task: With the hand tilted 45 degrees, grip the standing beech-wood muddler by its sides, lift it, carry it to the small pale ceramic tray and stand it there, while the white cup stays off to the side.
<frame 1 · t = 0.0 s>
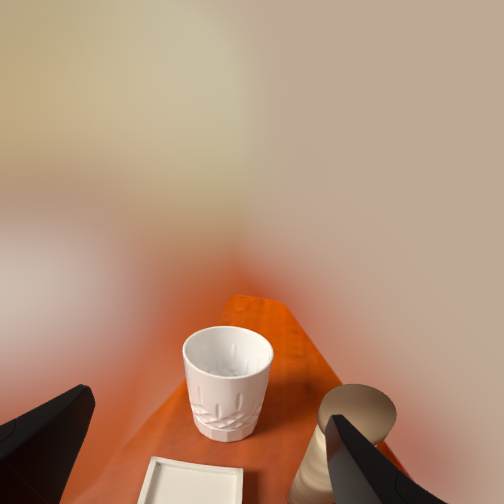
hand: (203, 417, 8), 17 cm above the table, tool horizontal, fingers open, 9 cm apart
white cup: (225, 420, 26), on the table
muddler: (310, 497, 16), on the table
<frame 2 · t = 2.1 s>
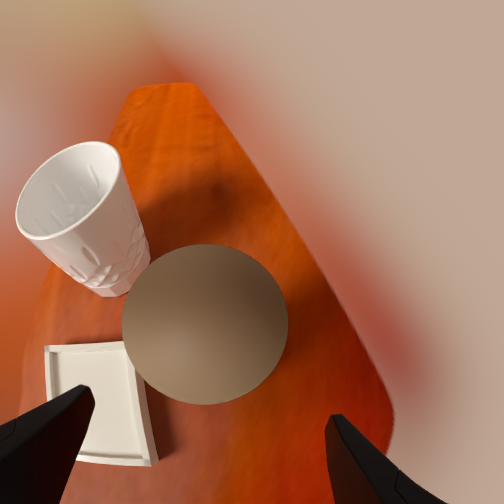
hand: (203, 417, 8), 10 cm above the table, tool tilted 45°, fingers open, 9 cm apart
white cup: (116, 262, 22), on the table
tray: (99, 404, 16), on the table
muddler: (224, 368, 19), on the table
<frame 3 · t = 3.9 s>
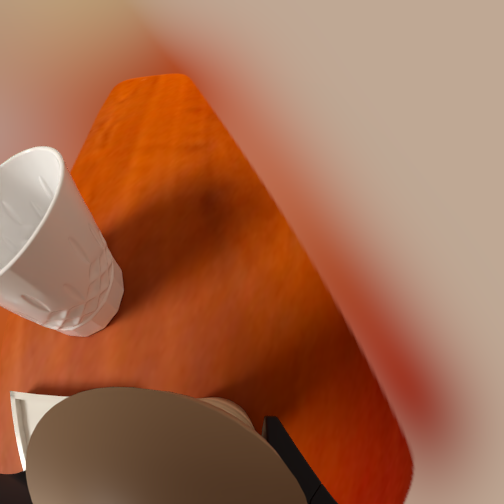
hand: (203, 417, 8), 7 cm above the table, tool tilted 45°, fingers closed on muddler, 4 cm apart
white cup: (85, 292, 17), on the table
tray: (74, 459, 11), on the table
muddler: (215, 430, 13), on the table, touching gripper
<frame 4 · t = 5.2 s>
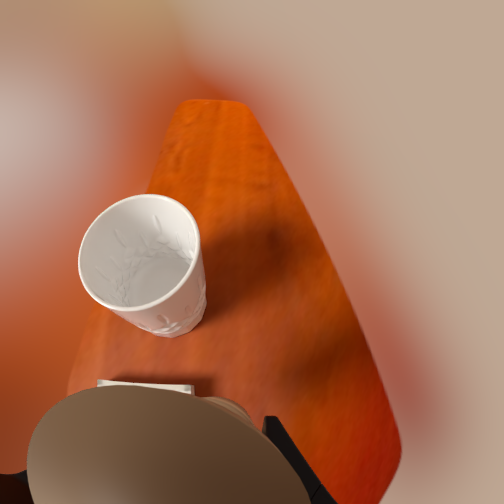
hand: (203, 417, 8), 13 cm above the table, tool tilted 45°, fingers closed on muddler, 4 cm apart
white cup: (170, 302, 24), on the table
tray: (150, 434, 18), on the table
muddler: (216, 430, 13), point 7 cm above the table, touching gripper
when the fingers open (9 cm above the table, at t = 6.9 s): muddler drops 1 cm, resting on tray.
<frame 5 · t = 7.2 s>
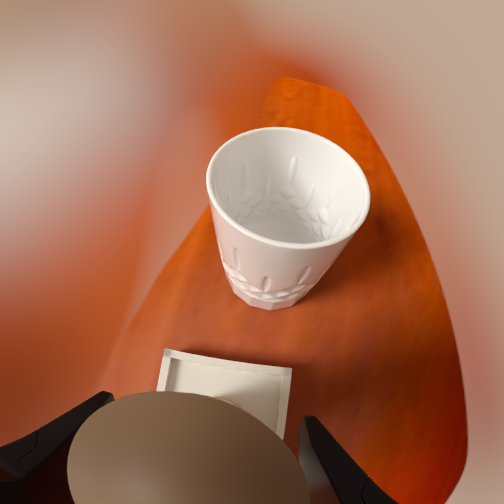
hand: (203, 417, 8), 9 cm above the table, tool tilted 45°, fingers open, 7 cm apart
white cup: (269, 269, 22), on the table
tray: (218, 426, 16), on the table
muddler: (216, 428, 14), point 1 cm above the table, touching tray
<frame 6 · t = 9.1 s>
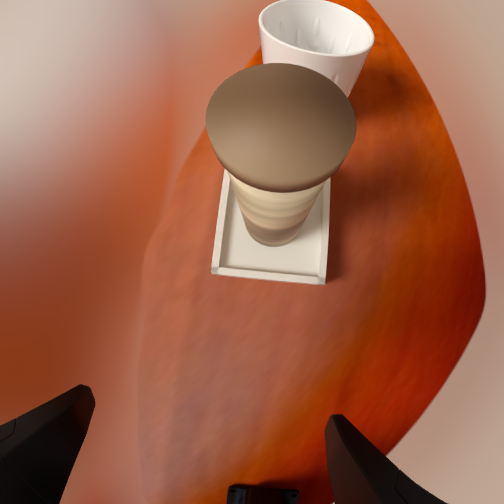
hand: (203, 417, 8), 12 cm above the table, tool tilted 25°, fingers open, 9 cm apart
white cup: (304, 104, 23), on the table
tray: (273, 222, 22), on the table
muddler: (273, 218, 20), point 1 cm above the table, touching tray
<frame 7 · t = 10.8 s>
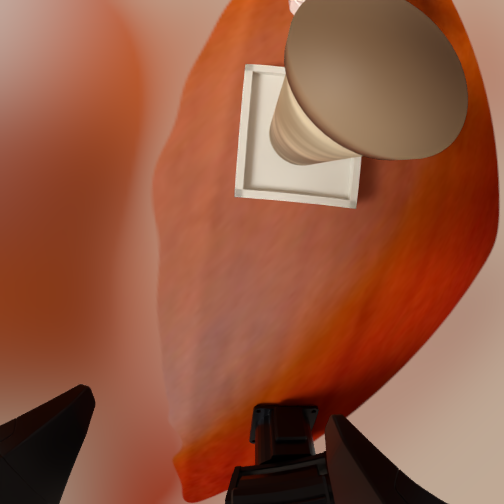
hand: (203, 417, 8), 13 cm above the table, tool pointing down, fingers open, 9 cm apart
tray: (299, 136, 18), on the table
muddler: (301, 134, 17), point 1 cm above the table, touching tray
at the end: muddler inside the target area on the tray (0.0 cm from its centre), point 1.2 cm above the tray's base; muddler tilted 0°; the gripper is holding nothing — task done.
